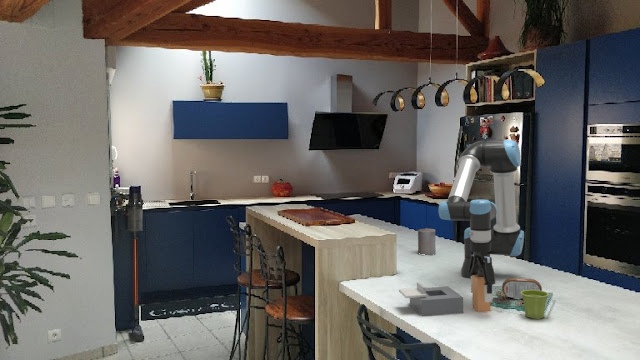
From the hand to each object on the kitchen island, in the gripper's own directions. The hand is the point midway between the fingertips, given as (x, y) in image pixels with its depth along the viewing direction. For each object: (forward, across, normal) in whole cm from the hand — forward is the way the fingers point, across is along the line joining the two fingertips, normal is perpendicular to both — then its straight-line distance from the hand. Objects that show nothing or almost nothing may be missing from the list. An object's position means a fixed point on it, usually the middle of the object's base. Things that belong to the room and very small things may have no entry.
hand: (481, 297), depth 214 cm
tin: (+5, -9, +21) cm, 23 cm away
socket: (+5, -6, -16) cm, 18 cm away
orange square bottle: (+5, 0, 0) cm, 5 cm away
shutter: (-1, -6, -25) cm, 26 cm away
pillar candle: (+5, -103, +13) cm, 104 cm away
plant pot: (+5, +12, +15) cm, 20 cm away
